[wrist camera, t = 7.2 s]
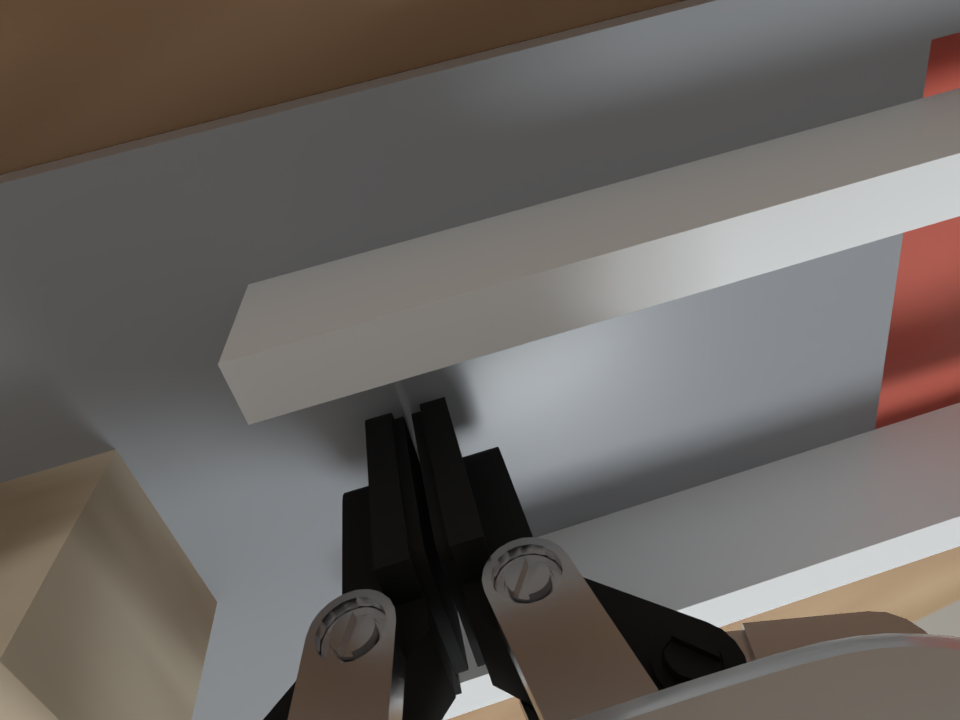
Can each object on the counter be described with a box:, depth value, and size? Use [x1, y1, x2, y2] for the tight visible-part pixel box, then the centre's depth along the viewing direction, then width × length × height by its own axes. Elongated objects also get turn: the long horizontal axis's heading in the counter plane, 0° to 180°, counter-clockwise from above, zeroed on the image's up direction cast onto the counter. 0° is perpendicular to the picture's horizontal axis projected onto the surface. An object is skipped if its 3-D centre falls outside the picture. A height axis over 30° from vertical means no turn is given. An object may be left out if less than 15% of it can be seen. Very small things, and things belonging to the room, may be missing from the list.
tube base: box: [0, 0, 960, 720], centre depth 13 cm, size 31×14×5 cm, turn 102°
